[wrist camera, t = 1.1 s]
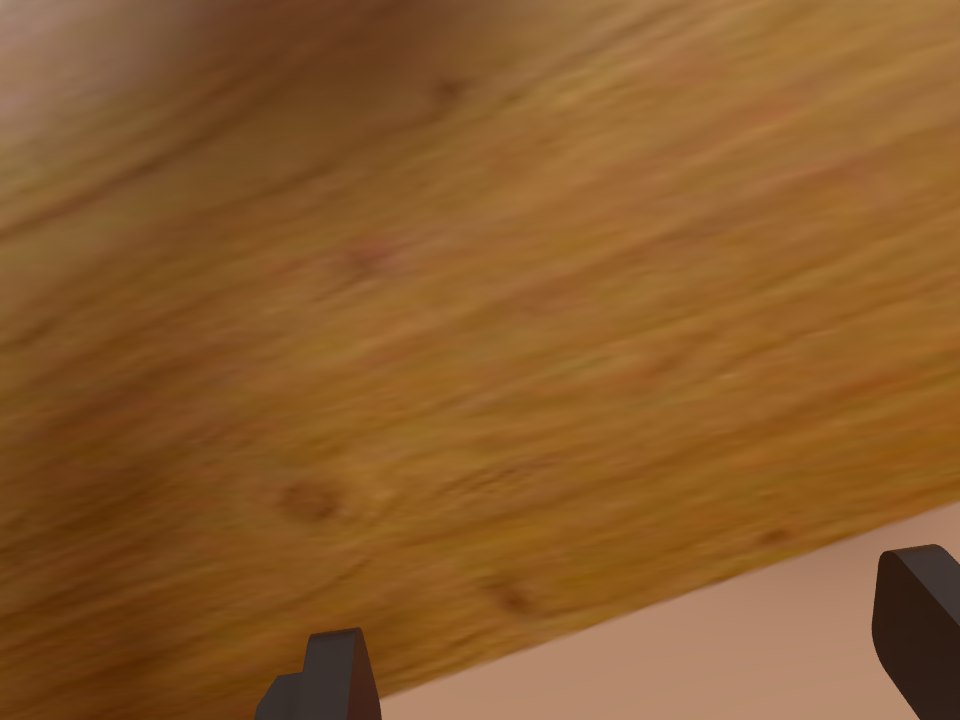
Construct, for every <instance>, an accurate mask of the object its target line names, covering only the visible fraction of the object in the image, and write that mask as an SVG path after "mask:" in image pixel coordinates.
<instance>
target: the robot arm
mask: <svg viewBox="0 0 960 720" xmlns="http://www.w3.org/2000/svg"><path fill="white" fill-rule="evenodd" d="M872 637H873V642H874V646H875V650H876V653H877V655H878V657H879V660H880V662H881V664H882V666H883V668H884V669H885V671H886V672H887V674H888V675H889V677H890V678H891V679H892V681H893V682H894V684H895V685H896V687H897V688H898V689H899V691H900V692H901V694H902V695H903V696H904V698H905V699H906V701H907V702H908V704H909V705H910V706H911V707H912V709H913V710H914V712H915V713H916V715H917V716H918V718H919V719H920V720H960V564H959V563H958V562H957V561H956V560H955V559H954V558H953V557H952V556H951V555H950V554H949V553H948V552H947V551H946V550H945V549H944V548H942V547H941V546H939V545H936V544H931V545H924V546H917V547H910V548H903V549H897V550H890V551H885V552H883V553H882V555H881V556H880V559H879V564H878V573H877V582H876V591H875V600H874V609H873V618H872ZM254 720H382V718H381V709H380V702H379V697H378V693H377V689H376V685H375V681H374V677H373V673H372V669H371V665H370V661H369V657H368V652H367V648H366V644H365V640H364V636H363V633H362V631H361V629H360V628H359V627H357V628H350V629H344V630H337V631H330V632H323V633H317V634H312V635H311V636H310V637H309V640H308V645H307V650H306V656H305V662H304V667H303V672H300V673H294V674H287V675H280V676H277V678H276V679H275V681H274V682H273V684H272V685H271V687H270V688H269V690H268V691H267V693H266V694H265V696H264V697H263V699H262V700H261V702H260V703H259V705H258V706H257V710H256V714H255V718H254Z"/></svg>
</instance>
